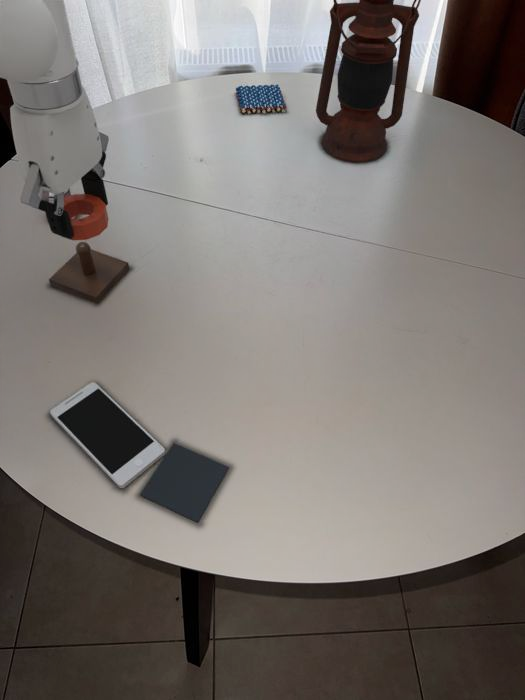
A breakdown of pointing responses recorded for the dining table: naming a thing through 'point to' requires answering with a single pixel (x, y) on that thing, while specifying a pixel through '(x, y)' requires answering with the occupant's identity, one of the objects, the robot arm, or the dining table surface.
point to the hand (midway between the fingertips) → (80, 217)
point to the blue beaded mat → (260, 98)
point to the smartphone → (108, 434)
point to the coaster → (185, 482)
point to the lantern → (364, 77)
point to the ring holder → (89, 273)
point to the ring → (91, 223)
